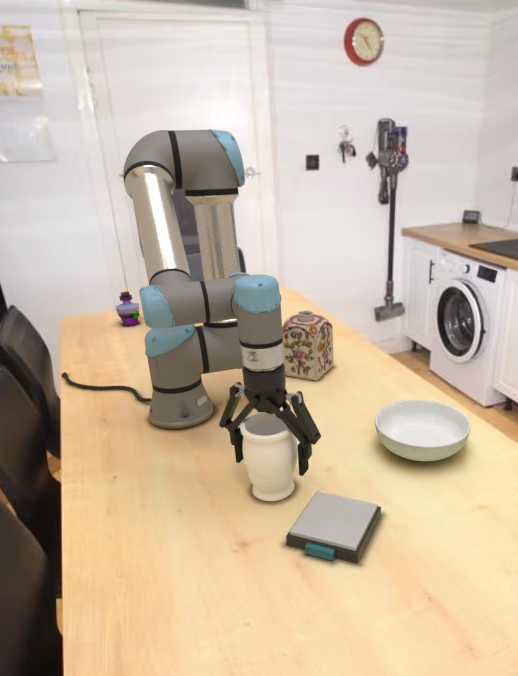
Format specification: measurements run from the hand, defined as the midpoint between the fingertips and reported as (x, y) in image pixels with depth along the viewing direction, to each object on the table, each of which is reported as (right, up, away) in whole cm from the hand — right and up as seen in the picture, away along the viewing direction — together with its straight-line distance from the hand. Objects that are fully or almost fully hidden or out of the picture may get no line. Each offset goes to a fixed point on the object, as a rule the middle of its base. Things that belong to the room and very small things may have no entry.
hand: (272, 465), depth 105 cm
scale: (+13, -10, -8) cm, 18 cm away
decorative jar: (+3, +19, +55) cm, 58 cm away
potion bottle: (-66, +38, +94) cm, 120 cm away
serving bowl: (+31, +1, +17) cm, 35 cm away
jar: (0, -5, +3) cm, 6 cm away
